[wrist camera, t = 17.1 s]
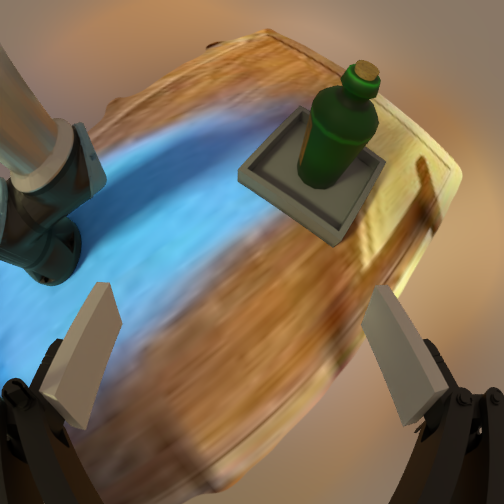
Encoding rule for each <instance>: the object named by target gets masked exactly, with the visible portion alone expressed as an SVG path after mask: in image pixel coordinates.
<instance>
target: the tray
mask: <svg viewBox="0 0 504 504" xmlns="http://www.w3.org/2000/svg"><path fill="white" fill-rule="evenodd" d="M309 115H310V111H309V110H307V109H305V108H304V107H302V106H299V107H298V108H297V109H296V110H295V111H294V112H293V113H292V114H291V115H290V116H289V117H288V118H287V119H286V120H285V121H284V122H283V123H282V124H281V125H280V126H279V127H278V128H277V129H276V130H275V131H274V132H273V133H272V134H271V135H270V136H269V137H268V138H267V139H266V140H265V141H264V142H263V143H262V144H261V145H260V146H259V147H258V148H257V150H256V151H255V152H254V153H253V154H252V155H251V156H250V157H249V158H248V159H247V160H246V161H245V162H244V163H243V164H242V165H241V167H240V168H239V169H238V182H239V183H241V184H242V185H244V186H245V187H247V188H248V189H250V190H251V191H253V192H254V193H256V194H257V195H259V196H260V197H262V198H263V199H265V200H266V201H268V202H269V203H271V204H272V205H274V206H275V207H277V208H278V209H279V210H281V211H282V212H284V213H285V214H287V215H288V216H289V217H291V218H292V219H294V220H295V221H297V222H298V223H299V224H301V225H302V226H304V227H305V228H306V229H308V230H309V231H311V232H312V233H313V234H315V235H316V236H318V237H319V238H320V239H322V240H323V241H325V242H326V243H327V244H329V245H330V246H331V247H334V246H336V245H337V244H338V243H339V242H340V241H341V240H342V239H343V237H344V235H345V234H346V232H347V230H348V229H349V227H350V225H351V224H352V222H353V220H354V219H355V217H356V215H357V214H358V212H359V210H360V208H361V207H362V205H363V203H364V201H365V200H366V198H367V196H368V194H369V193H370V191H371V189H372V187H373V185H374V184H375V182H376V180H377V178H378V176H379V175H380V173H381V171H382V169H383V167H384V165H385V163H386V161H384V160H383V159H382V158H380V157H379V156H378V155H376V154H375V153H374V152H372V151H371V150H369V149H368V148H367V147H364V148H363V149H362V151H361V152H360V153H359V154H358V156H357V157H356V158H355V159H354V161H353V162H352V163H351V164H350V165H349V167H348V168H347V169H346V170H345V172H344V173H343V174H342V175H341V177H340V178H339V179H338V180H337V182H336V183H335V184H334V185H333V186H331V187H329V188H327V189H325V190H323V189H313V188H312V187H310V186H308V185H306V184H304V183H303V181H302V180H301V178H300V177H299V176H298V172H297V163H298V159H299V155H300V151H301V147H302V143H303V139H304V135H305V131H306V127H307V123H308V119H309Z"/></svg>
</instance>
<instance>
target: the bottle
mask: <svg viewBox="0 0 504 504" xmlns="http://www.w3.org/2000/svg"><path fill="white" fill-rule="evenodd" d="M378 75H379V70H378V68H377V67H376V66H374V65H373V64H372V63H369V62H367V61H364V60H359V61H357V62H356V64H353V65H350V66H349V68H348V69H347V70H346V71H345V73H344V74H343V76H342V77H341V82H342V85H343V86H339V85H337V86H333V87H329V88H326V89H324V90H322V91H319V93H318V94H317V96H316V97H315V98H314V100H313V103H312V107H311V111H310V115H309V119H308V123H307V127H306V131H305V135H304V139H303V143H302V147H301V151H300V155H299V159H298V163H297V172H298V176H299V177H300V178H301V180H302V181H303V183H304V184H306V185H308V186H310V187H312V188H313V189H323V190H325V189H327V188H329V187H331V186H333V185H334V184H335V183H336V182H337V180H338V179H339V178H340V177H341V175H342V174H343V173H344V172H345V170H346V169H347V168H348V167H349V165H350V164H351V163H352V162H353V161H354V159H355V158H356V157H357V156H358V154H359V153H360V152H361V151H362V149H363V148H364V147H365V146H366V144H367V143H368V142H369V140H370V139H371V138H372V137H373V135H374V134H375V132H376V130H377V127H378V124H379V121H378V116H377V113H376V110H375V107H374V105H373V103H372V102H371V101H370V100H369V99H372V98H376V96H377V93H378V90H379V86H380V81H381V80H380V78H379V76H378Z"/></svg>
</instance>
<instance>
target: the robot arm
mask: <svg viewBox="0 0 504 504" xmlns="http://www.w3.org/2000/svg"><path fill="white" fill-rule="evenodd" d="M0 162H1V163H2V164H3V165H4V166H6V167H7V168H8V169H9V170H10V176H11V177H10V178H9V179H8V180H7V181H6V180H5V179H4V178H2V177H0V260H1V261H4V262H7V263H10V264H12V265H15V266H18V267H21V268H23V269H24V270H25V271H26V272H27V273H28V274H29V275H30V276H31V277H32V278H33V279H34V280H35V281H36V282H38V283H40V284H43V285H47V286H56V285H59V284H61V283H62V282H64V281H65V280H66V279H67V278H68V277H69V276H70V275H71V274H72V272H73V271H74V269H75V267H76V265H77V263H78V260H79V257H80V252H81V236H80V233H79V230H78V228H77V226H76V225H75V223H74V222H73V221H71V220H70V219H69V218H67V217H66V216H67V215H68V214H69V213H71V212H72V211H74V210H75V209H76V208H78V207H79V206H80V205H82V204H83V203H85V202H86V201H87V200H89V199H91V198H92V197H93V195H95V194H96V193H97V192H98V191H100V190H101V189H102V188H103V187H104V186H105V185H106V182H107V177H106V174H105V172H104V170H103V168H102V166H101V163H100V161H99V159H98V157H97V154H96V152H95V150H94V147H93V145H92V143H91V140H90V138H89V136H88V133H87V131H86V128H85V126H84V124H83V123H81V122H79V123H77V124H74V125H72V126H71V125H70V124H69V123H68V122H67V121H66V120H64V119H61V118H54V119H52V118H51V117H50V116H49V114H48V113H47V112H46V110H45V109H44V108H43V106H42V105H41V103H40V102H39V101H38V99H37V98H36V97H35V95H34V94H33V92H32V91H31V90H30V88H29V87H28V85H27V84H26V82H25V81H24V80H23V78H22V77H21V75H20V74H19V72H18V71H17V69H16V68H15V66H14V65H13V63H12V61H11V60H10V59H9V57H8V55H7V54H6V52H5V50H4V49H3V47H2V46H1V44H0ZM121 326H122V321H121V318H120V315H119V312H118V309H117V305H116V302H115V299H114V296H113V292H112V289H111V285H110V283H105V282H97V283H96V284H95V286H94V287H93V289H92V291H91V292H90V294H89V295H88V297H87V299H86V300H85V302H84V304H83V306H82V307H81V309H80V311H79V312H78V314H77V316H76V318H75V319H74V321H73V323H72V325H71V327H70V328H69V330H68V332H67V334H66V336H65V338H64V340H63V339H58V338H57V339H56V340H55V341H54V342H53V343H52V344H51V345H50V346H49V348H48V350H47V352H46V354H45V357H44V358H43V360H42V364H40V366H39V368H38V370H37V372H36V374H35V376H34V378H33V380H32V383H31V385H30V387H29V388H28V386H27V385H26V384H25V383H24V382H23V381H22V380H21V379H19V378H13V379H10V380H9V381H7V382H6V383H5V385H4V386H3V389H2V397H3V398H1V397H0V504H104V503H103V501H102V500H101V498H100V496H99V495H98V493H97V491H96V490H95V488H94V486H93V484H92V483H91V481H90V479H89V477H88V475H87V474H86V472H85V470H84V468H83V466H82V464H81V462H80V460H79V458H78V456H77V454H76V451H75V449H74V447H73V445H72V443H71V440H70V438H69V436H68V433H67V431H66V429H65V427H64V426H63V424H64V421H65V420H66V421H67V422H68V423H69V424H70V425H71V426H73V427H76V428H79V429H83V430H86V427H87V424H88V420H89V417H90V413H91V410H92V407H93V404H94V401H95V397H96V394H97V391H98V388H99V385H100V382H101V379H102V376H103V374H104V371H105V368H106V365H107V362H108V360H109V357H110V354H111V352H112V349H113V346H114V344H115V341H116V339H117V336H118V334H119V331H120V329H121ZM361 326H362V328H363V330H364V332H365V334H366V337H367V339H368V341H369V343H370V346H371V348H372V350H373V353H374V355H375V357H376V359H377V362H378V364H379V367H380V369H381V371H382V373H383V376H384V379H385V381H386V383H387V386H388V388H389V391H390V393H391V396H392V399H393V401H394V404H395V406H396V409H397V412H398V414H399V417H400V419H401V422H402V425H403V426H406V425H410V424H413V423H416V422H417V421H418V420H419V419H421V418H422V417H423V416H424V418H425V421H424V422H423V423H422V424H421V425H420V426H419V427H418V428H417V429H416V430H415V432H414V433H417V432H418V431H419V430H420V429H421V430H420V433H419V436H418V439H417V441H416V444H415V447H414V449H413V452H412V454H411V457H410V459H409V462H408V464H407V466H406V469H405V471H404V473H403V476H402V478H401V480H400V482H399V484H398V486H397V488H396V490H395V492H394V494H393V496H392V498H391V500H390V502H389V504H504V395H503V393H502V392H501V391H500V390H499V389H498V388H495V387H491V388H489V389H488V390H487V391H486V393H485V394H472V393H471V392H470V391H469V390H467V389H466V388H462V387H458V385H457V383H456V381H455V380H454V378H453V376H452V374H451V372H450V370H449V369H448V367H447V365H446V363H445V362H444V360H443V358H442V356H440V353H439V351H438V349H437V348H436V346H435V345H434V344H433V343H432V342H431V341H430V340H428V339H423V340H422V338H421V337H420V335H419V333H418V331H417V330H416V328H415V326H414V325H413V323H412V321H411V320H410V318H409V317H408V315H407V314H406V312H405V310H404V309H403V307H402V306H401V304H400V302H399V301H398V299H397V298H396V296H395V295H394V293H393V292H392V290H391V289H390V287H389V286H388V285H375V288H374V291H373V294H372V297H371V300H370V303H369V305H368V308H367V311H366V313H365V316H364V319H363V321H362V324H361ZM481 427H482V433H481V434H480V432H479V429H480V428H481Z"/></svg>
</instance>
